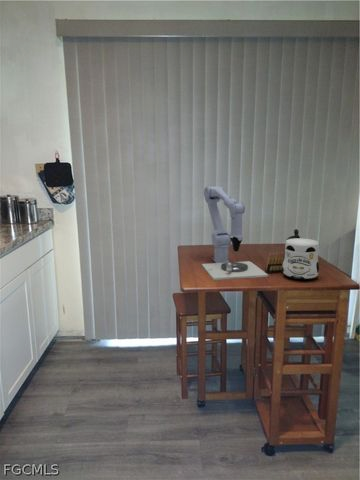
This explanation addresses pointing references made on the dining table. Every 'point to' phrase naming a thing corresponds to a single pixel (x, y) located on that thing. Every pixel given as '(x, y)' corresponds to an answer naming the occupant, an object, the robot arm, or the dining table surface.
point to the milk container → (301, 259)
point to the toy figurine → (294, 235)
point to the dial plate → (220, 274)
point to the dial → (234, 267)
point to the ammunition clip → (275, 263)
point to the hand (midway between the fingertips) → (236, 251)
